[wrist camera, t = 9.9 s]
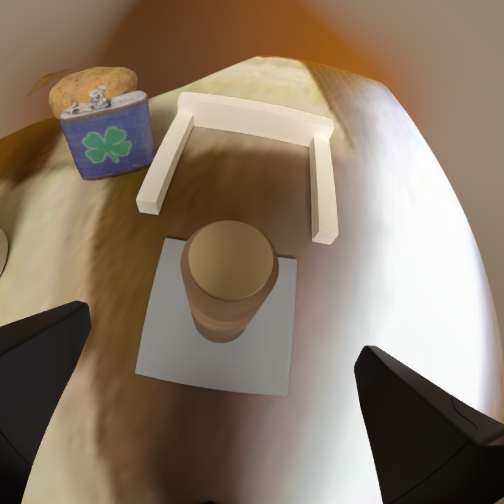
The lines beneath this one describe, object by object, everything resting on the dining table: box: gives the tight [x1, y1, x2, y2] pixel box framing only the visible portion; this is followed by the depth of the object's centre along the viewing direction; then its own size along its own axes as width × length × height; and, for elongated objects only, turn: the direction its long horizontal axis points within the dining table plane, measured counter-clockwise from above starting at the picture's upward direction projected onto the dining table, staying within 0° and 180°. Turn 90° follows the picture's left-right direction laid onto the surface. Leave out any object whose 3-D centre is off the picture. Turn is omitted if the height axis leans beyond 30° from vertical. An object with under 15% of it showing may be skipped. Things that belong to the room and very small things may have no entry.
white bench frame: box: [136, 92, 339, 245], centre depth 27 cm, size 16×19×4 cm
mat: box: [135, 238, 297, 396], centre depth 21 cm, size 12×12×1 cm
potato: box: [49, 67, 138, 119], centre depth 27 cm, size 10×14×8 cm
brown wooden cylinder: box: [180, 220, 279, 343], centre depth 16 cm, size 4×4×11 cm
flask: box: [59, 86, 155, 181], centre depth 22 cm, size 9×3×11 cm, turn 105°
